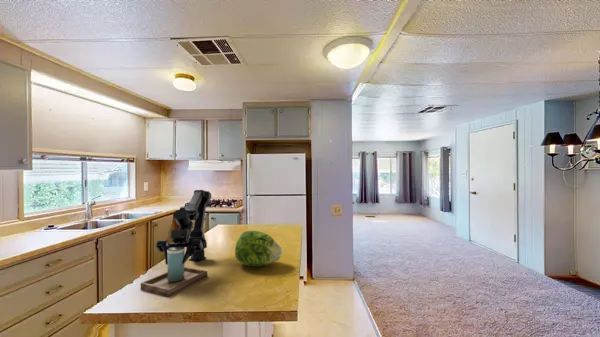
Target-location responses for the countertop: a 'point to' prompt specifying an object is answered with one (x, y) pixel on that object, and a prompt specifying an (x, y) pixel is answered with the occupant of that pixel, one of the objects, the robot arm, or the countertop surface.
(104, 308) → the countertop surface
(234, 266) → the countertop surface
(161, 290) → the tray
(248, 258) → the lettuce
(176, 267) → the cup
